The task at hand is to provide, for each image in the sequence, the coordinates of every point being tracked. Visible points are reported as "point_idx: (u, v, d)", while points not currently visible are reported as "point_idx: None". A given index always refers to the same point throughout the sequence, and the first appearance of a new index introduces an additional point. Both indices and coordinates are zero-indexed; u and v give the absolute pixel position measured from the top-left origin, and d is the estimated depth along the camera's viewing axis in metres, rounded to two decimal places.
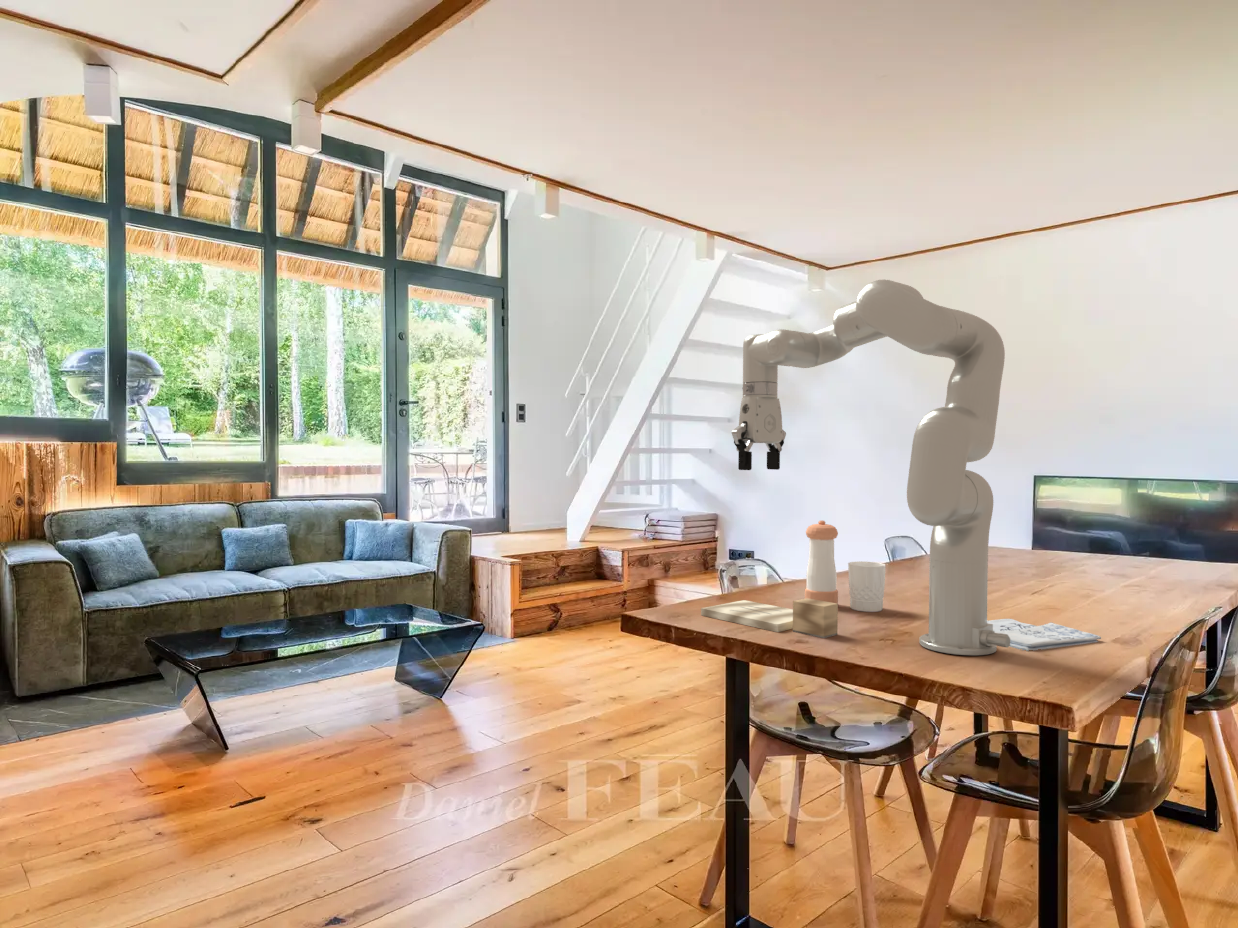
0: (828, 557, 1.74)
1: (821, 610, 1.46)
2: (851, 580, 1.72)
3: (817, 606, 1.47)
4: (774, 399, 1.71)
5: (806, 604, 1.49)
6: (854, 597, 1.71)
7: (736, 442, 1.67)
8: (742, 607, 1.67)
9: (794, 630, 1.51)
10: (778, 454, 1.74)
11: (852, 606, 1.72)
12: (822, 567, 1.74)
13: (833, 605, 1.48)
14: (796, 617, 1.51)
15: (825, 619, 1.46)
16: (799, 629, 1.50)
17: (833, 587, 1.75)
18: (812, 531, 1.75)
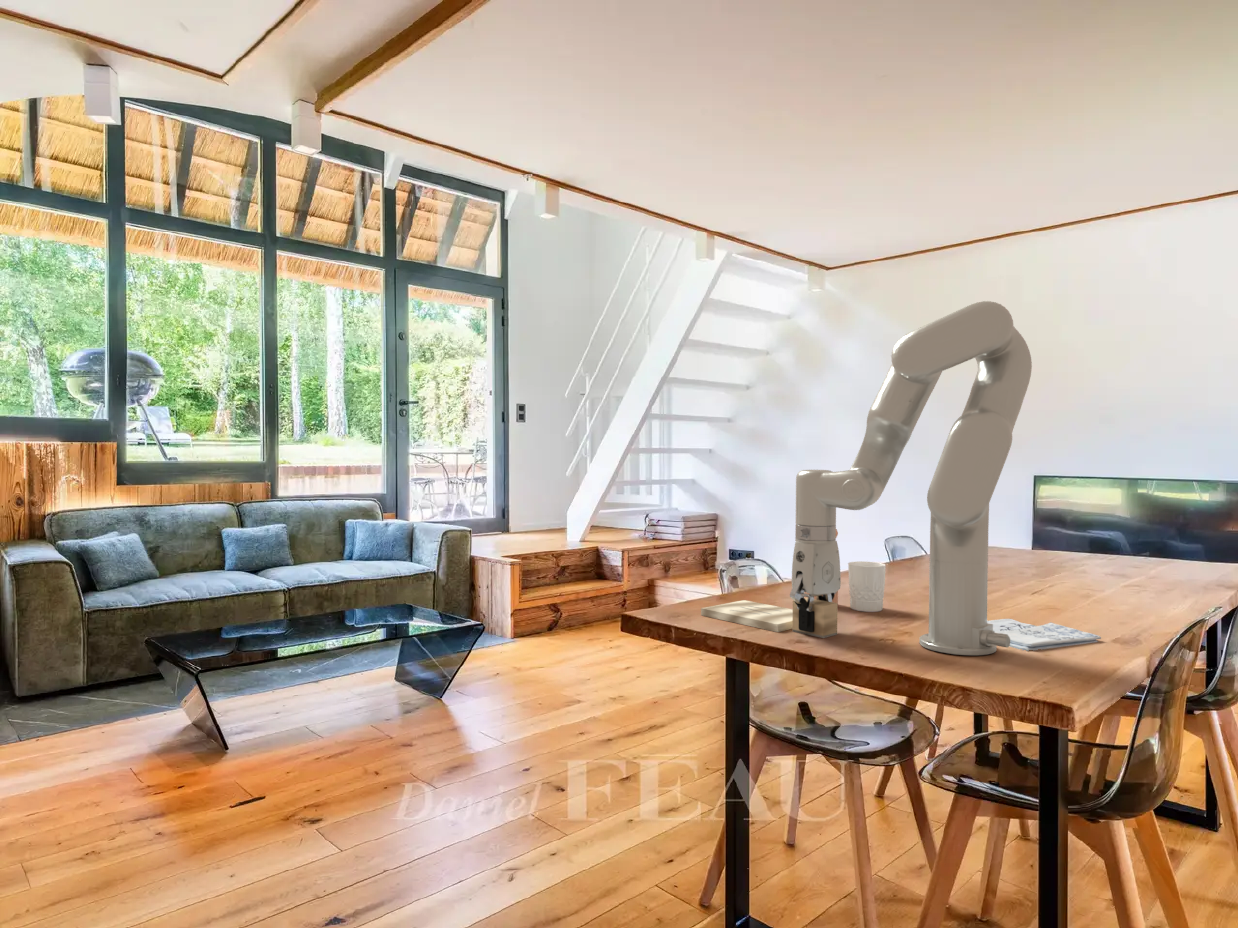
0: None
1: (821, 609, 1.46)
2: (851, 580, 1.72)
3: (817, 606, 1.47)
4: (832, 543, 1.49)
5: None
6: (854, 597, 1.71)
7: (798, 602, 1.47)
8: (742, 607, 1.67)
9: (794, 630, 1.51)
10: None
11: (852, 606, 1.72)
12: None
13: (833, 605, 1.48)
14: (796, 617, 1.51)
15: (824, 619, 1.46)
16: None
17: None
18: None
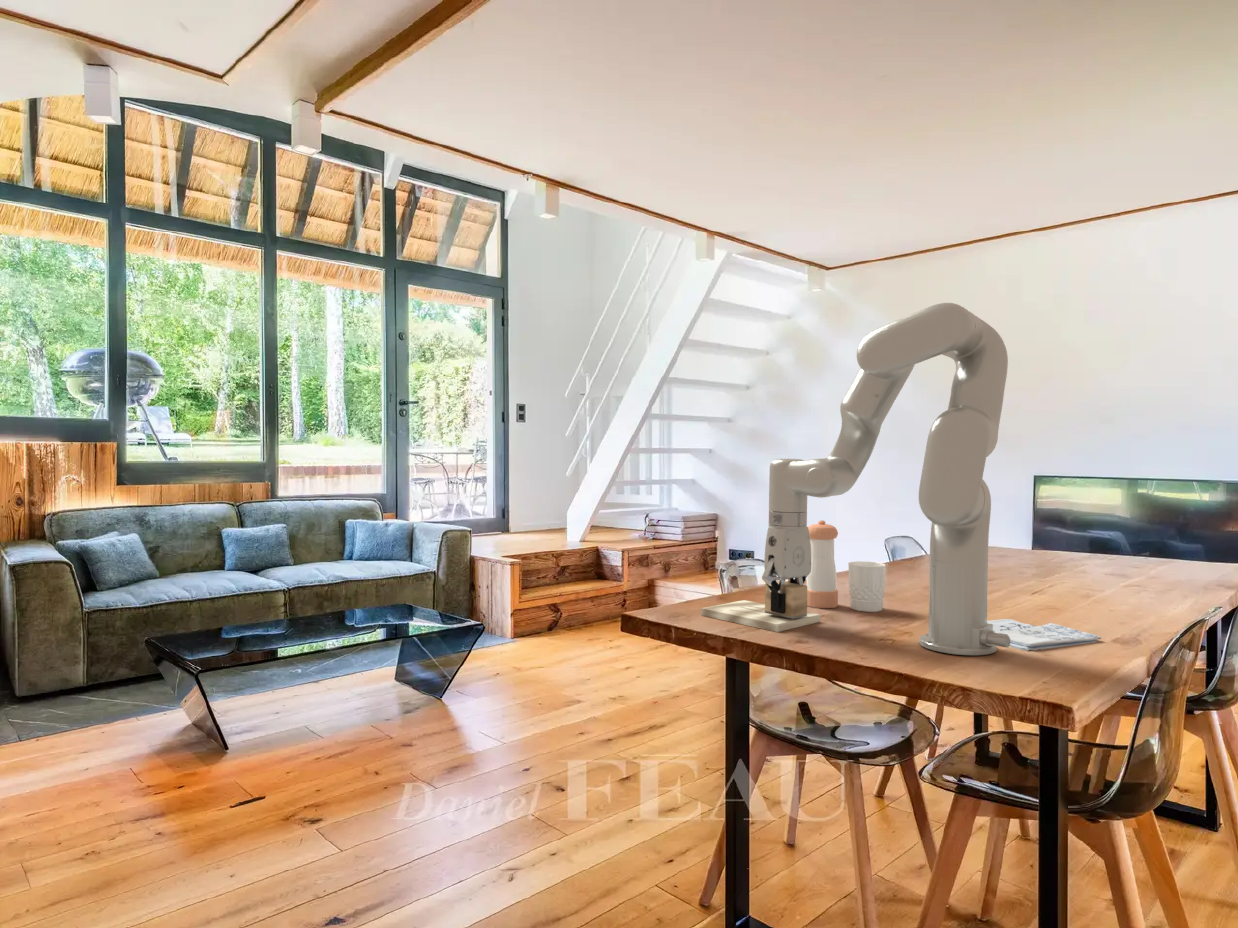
0: (828, 557, 1.74)
1: (791, 591, 1.54)
2: (851, 580, 1.72)
3: (787, 588, 1.54)
4: (803, 529, 1.56)
5: None
6: (854, 597, 1.71)
7: (769, 585, 1.54)
8: (742, 607, 1.67)
9: (766, 611, 1.58)
10: None
11: (852, 606, 1.72)
12: (822, 567, 1.74)
13: (803, 587, 1.55)
14: (768, 599, 1.58)
15: (794, 600, 1.54)
16: (770, 610, 1.58)
17: (833, 587, 1.75)
18: (812, 531, 1.75)
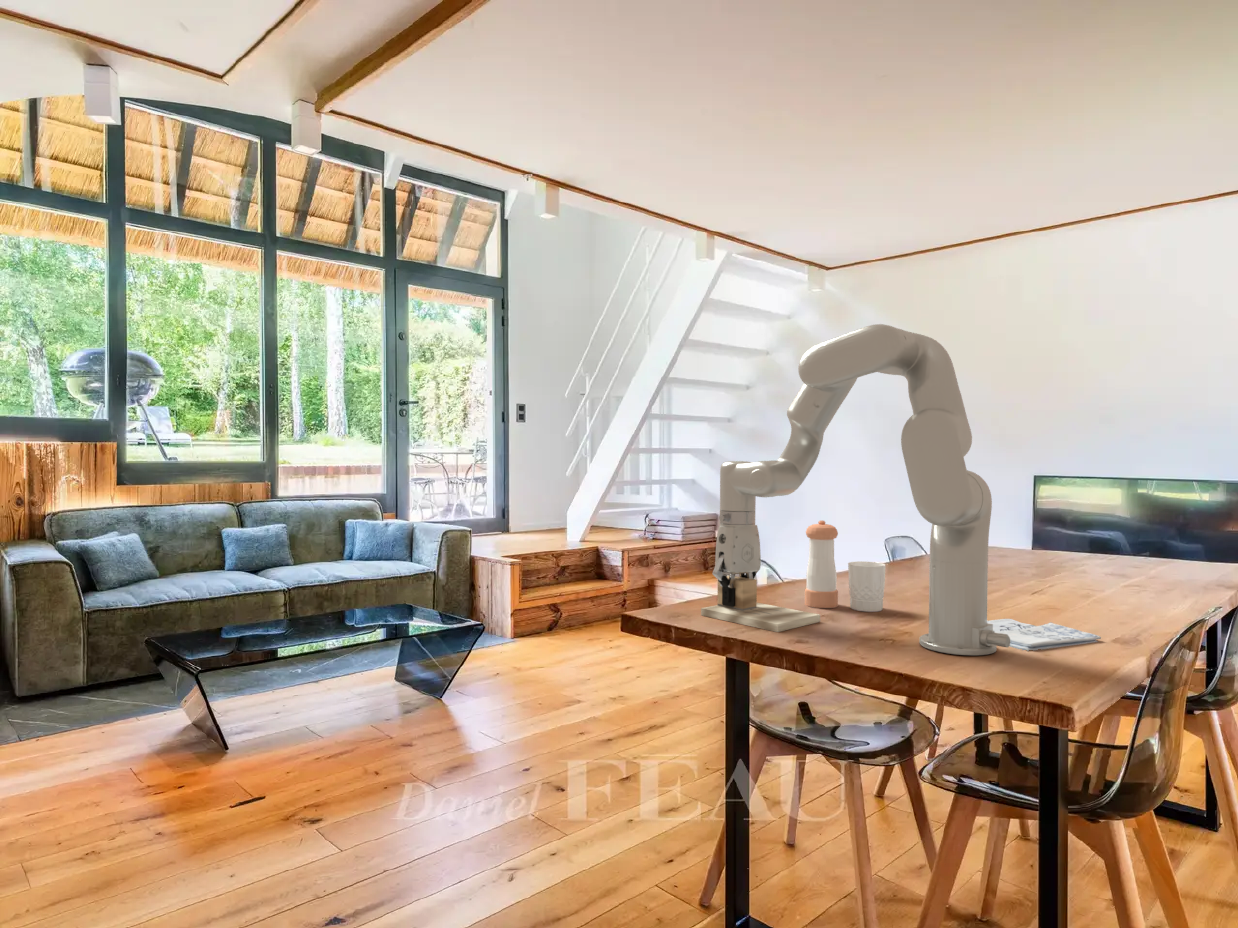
0: (828, 557, 1.74)
1: (740, 585, 1.63)
2: (851, 580, 1.72)
3: (737, 582, 1.64)
4: (752, 527, 1.66)
5: None
6: (854, 597, 1.71)
7: (720, 580, 1.64)
8: None
9: (718, 604, 1.68)
10: None
11: (852, 606, 1.72)
12: (822, 567, 1.74)
13: (752, 581, 1.65)
14: (720, 592, 1.68)
15: (744, 593, 1.63)
16: None
17: (833, 587, 1.75)
18: (812, 531, 1.75)
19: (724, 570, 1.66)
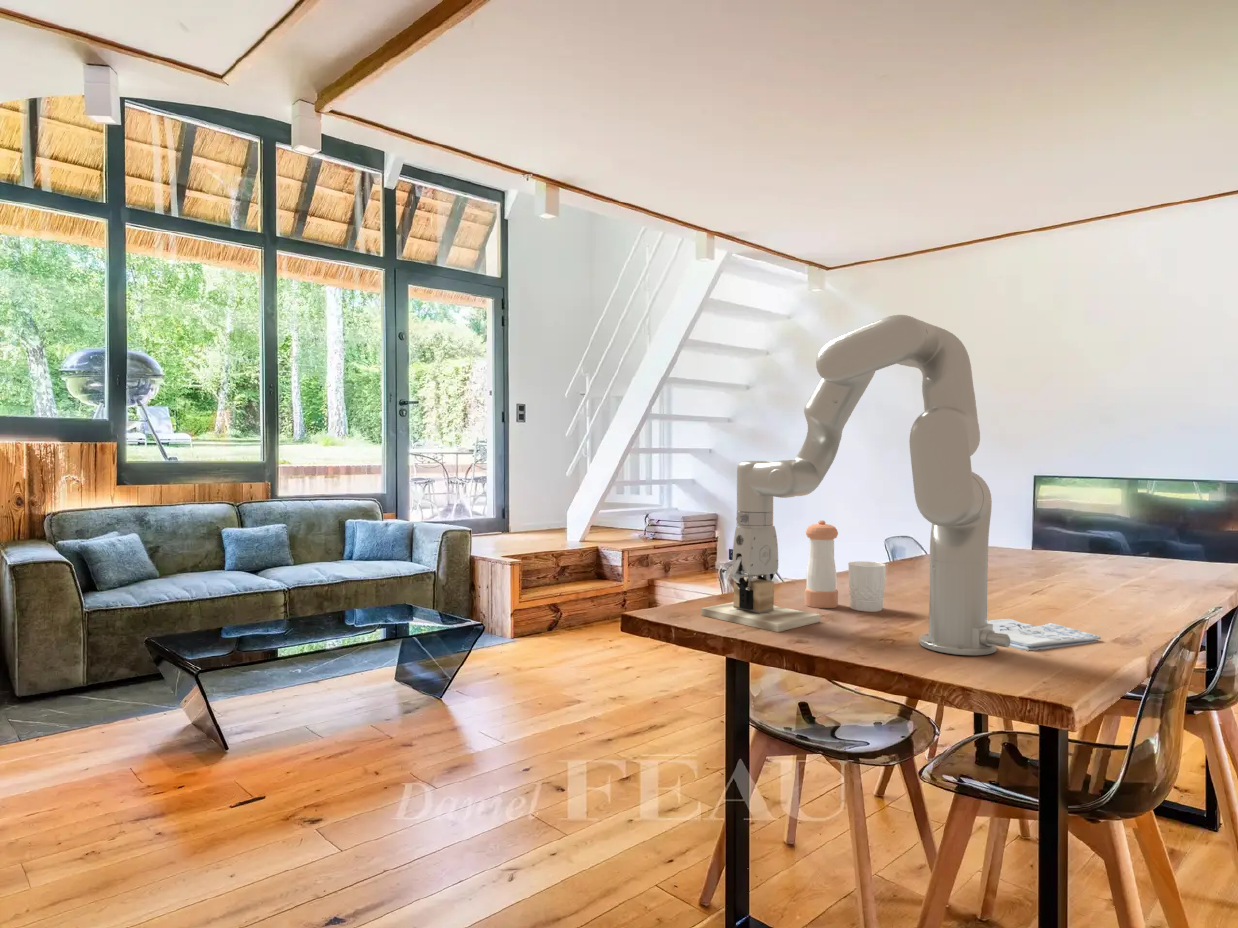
0: (828, 557, 1.74)
1: (758, 587, 1.60)
2: (851, 580, 1.72)
3: (754, 583, 1.61)
4: (770, 528, 1.63)
5: None
6: (854, 597, 1.71)
7: (737, 582, 1.60)
8: None
9: (734, 606, 1.65)
10: None
11: (852, 606, 1.72)
12: (822, 567, 1.74)
13: (769, 583, 1.62)
14: (736, 594, 1.64)
15: (761, 595, 1.60)
16: None
17: (833, 587, 1.75)
18: (812, 531, 1.75)
19: (741, 572, 1.62)
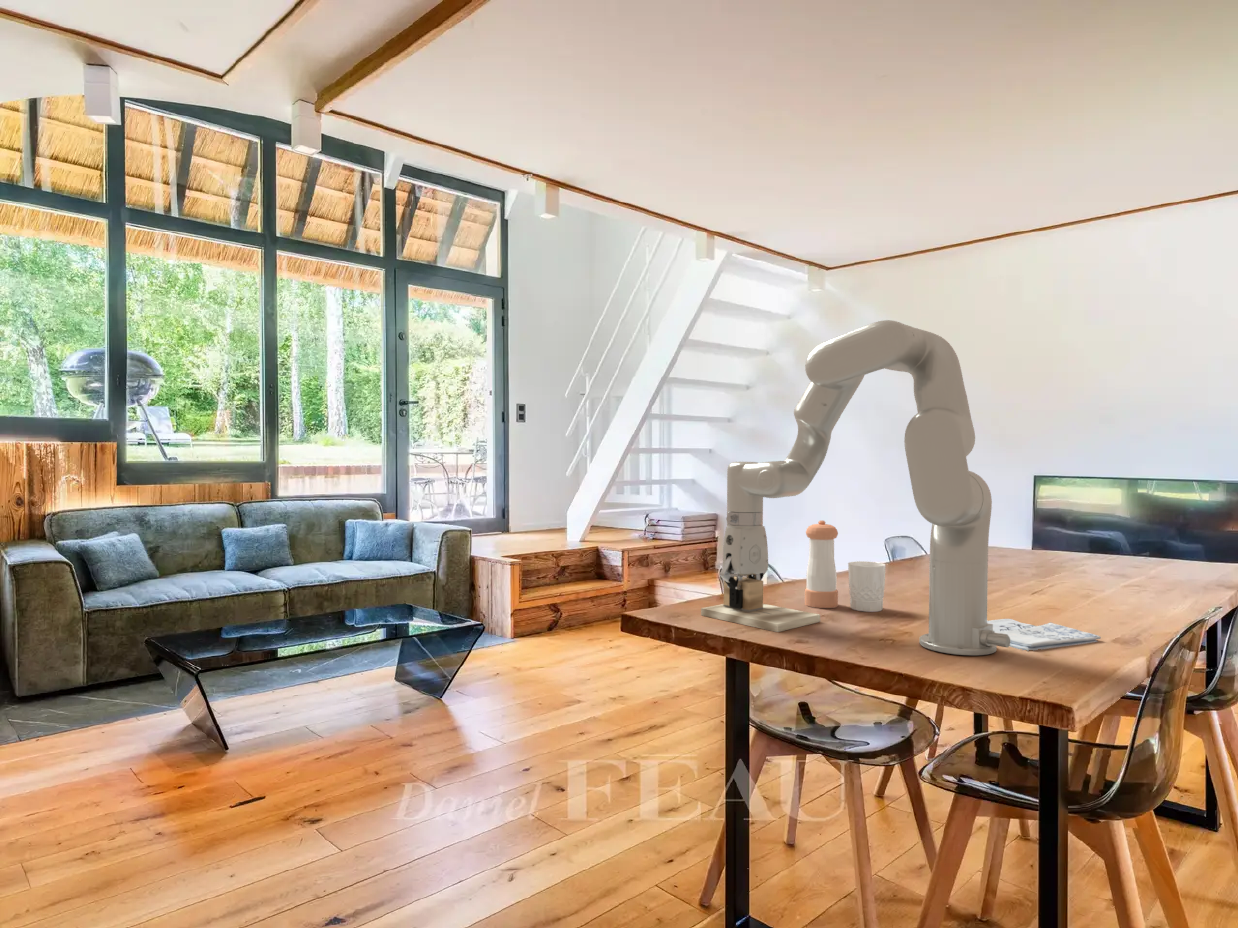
0: (828, 557, 1.74)
1: (747, 586, 1.62)
2: (851, 580, 1.72)
3: (744, 583, 1.63)
4: (759, 528, 1.65)
5: None
6: (854, 597, 1.71)
7: (727, 581, 1.62)
8: None
9: (724, 604, 1.67)
10: None
11: (852, 606, 1.72)
12: (822, 567, 1.74)
13: (759, 582, 1.64)
14: (726, 593, 1.66)
15: (750, 595, 1.62)
16: None
17: (833, 587, 1.75)
18: (812, 531, 1.75)
19: (731, 572, 1.64)
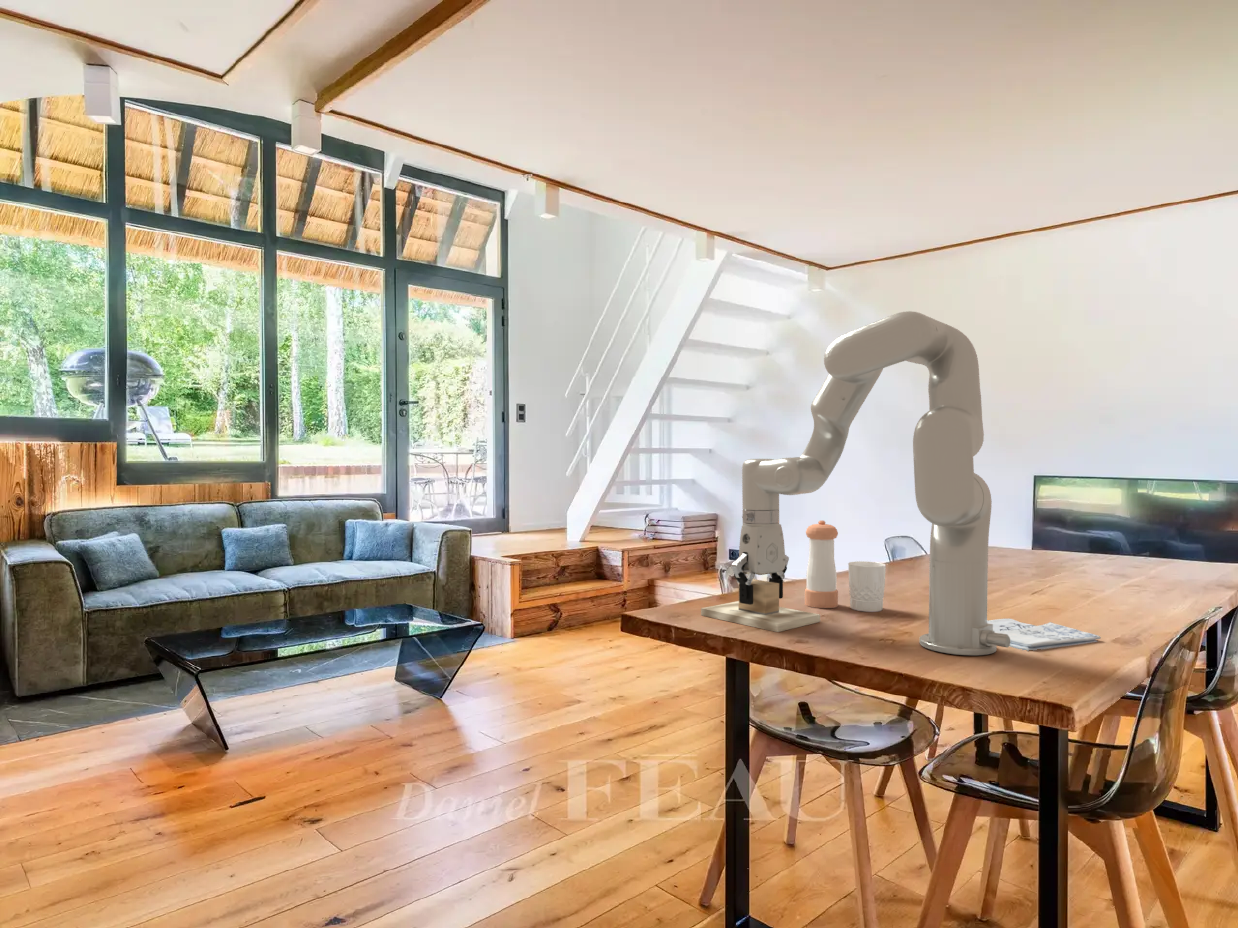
0: (828, 557, 1.74)
1: (763, 588, 1.59)
2: (851, 580, 1.72)
3: (759, 585, 1.60)
4: (776, 526, 1.61)
5: None
6: (854, 597, 1.71)
7: (736, 575, 1.57)
8: None
9: (740, 608, 1.64)
10: (781, 583, 1.64)
11: (852, 606, 1.72)
12: (822, 567, 1.74)
13: (774, 585, 1.61)
14: None
15: (766, 597, 1.59)
16: (744, 607, 1.63)
17: (833, 587, 1.75)
18: (812, 531, 1.75)
19: None
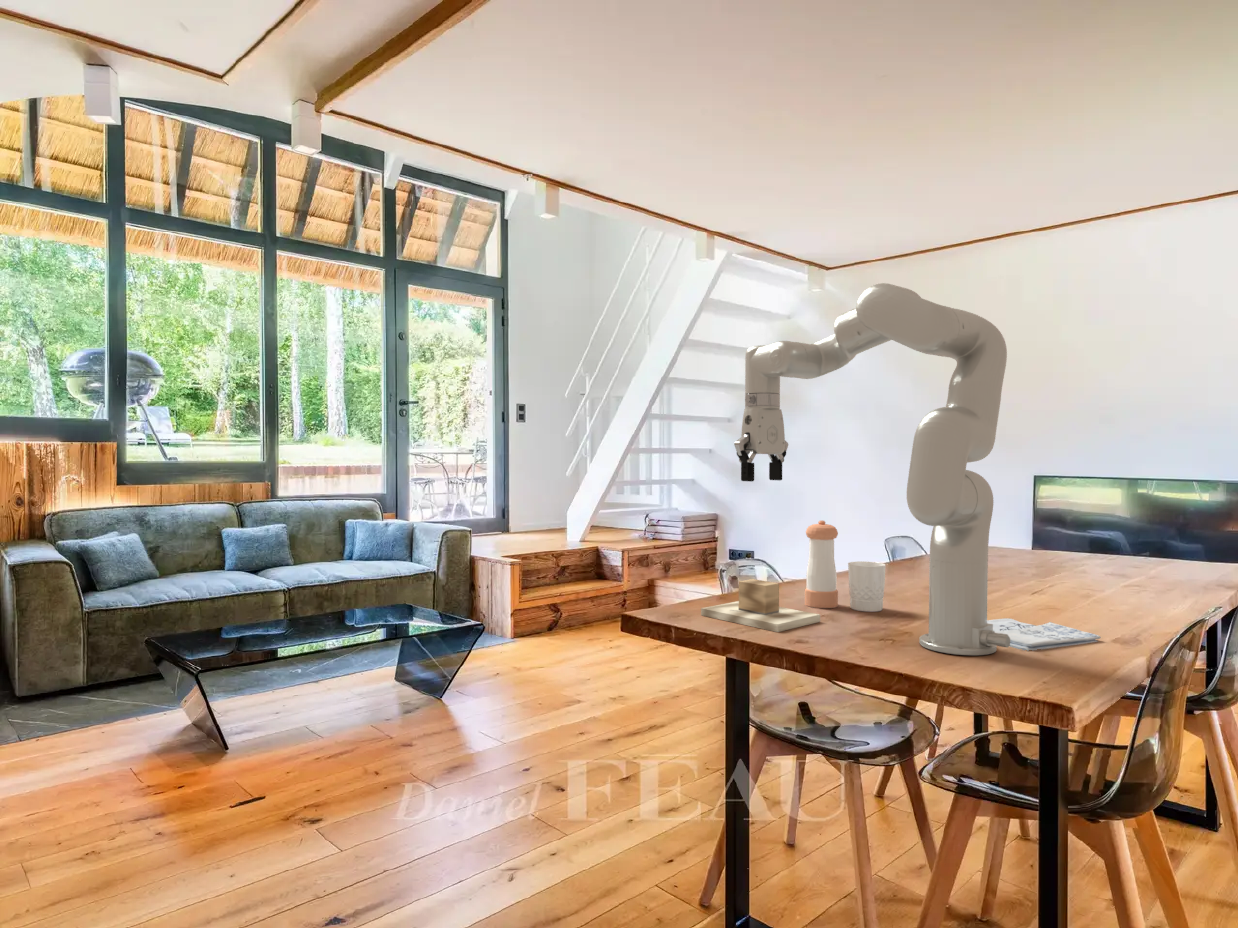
0: (828, 557, 1.74)
1: (763, 588, 1.59)
2: (851, 580, 1.72)
3: (759, 585, 1.60)
4: (776, 410, 1.71)
5: (750, 584, 1.62)
6: (854, 597, 1.71)
7: (739, 453, 1.67)
8: None
9: (740, 608, 1.64)
10: (780, 465, 1.74)
11: (852, 606, 1.72)
12: (822, 567, 1.74)
13: (774, 585, 1.61)
14: (741, 596, 1.63)
15: (766, 597, 1.59)
16: (744, 607, 1.63)
17: (833, 587, 1.75)
18: (812, 531, 1.75)
19: None
